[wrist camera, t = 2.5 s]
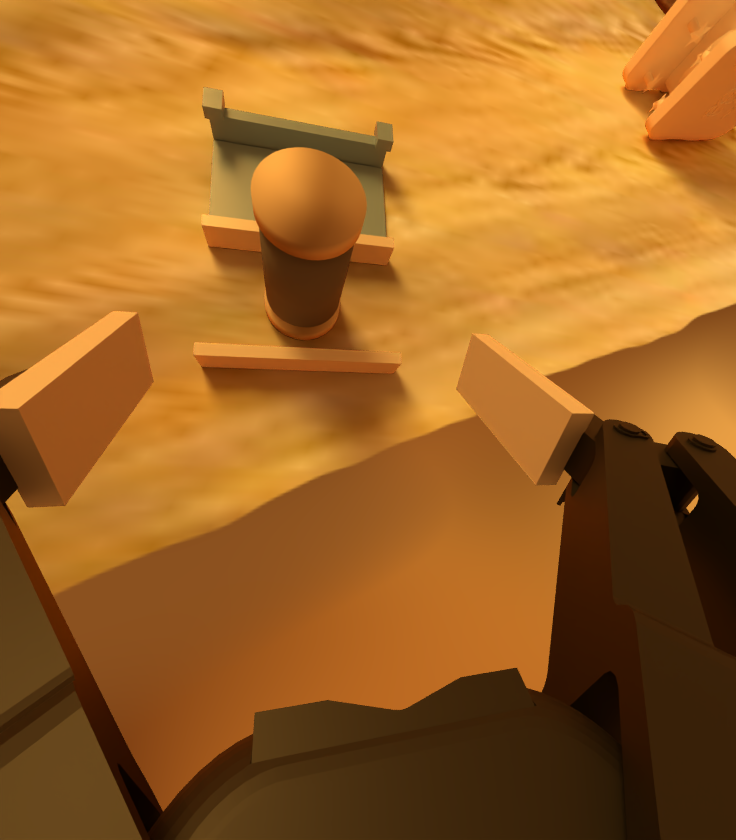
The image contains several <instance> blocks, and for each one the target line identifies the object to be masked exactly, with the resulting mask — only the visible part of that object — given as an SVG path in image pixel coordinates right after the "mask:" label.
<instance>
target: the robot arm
mask: <svg viewBox="0 0 736 840" xmlns="http://www.w3.org/2000/svg"><path fill="white" fill-rule="evenodd" d="M153 382H154V381H153V377H152V372H151V368H150V364H149V359H148V355H147V351H146V346H145V342H144V338H143V333H142V329H141V324H140V320H139V316H138V313H137V312H122V311H113V312H111V313H110V314H108V315H107V316H105V317H104V318H102V319H101V320H100V321H98V322H97V323H95V324H94V325H92V326H91V327H89V328H88V329H86V330H85V331H83V332H82V333H81V334H79V335H78V336H76V337H75V338H73V339H72V340H70V341H69V342H67V343H66V344H64V345H63V346H62V347H60V348H59V349H57V350H56V351H54V352H53V353H51V354H50V355H48V356H47V357H45V358H44V359H43V360H41V361H40V362H38V363H37V364H35V365H34V366H32V367H31V368H29V369H27V370H24V371H21V372H19V373H16V374H13V375H11V376H8V377H6V378H4V379H3V380H1V381H0V840H736V459H735V458H734V457H733V456H732V455H731V454H730V453H729V452H728V451H727V450H726V449H724V448H723V447H722V446H720V445H719V444H717V443H715V442H714V441H713V440H712V439H710V438H708V437H705V436H702V435H699V434H698V435H695V434H692V433H687V432H677V433H676V434H675V435H674V436H673V438H672V439H671V441H670V442H669V443H668V445H666V444H661V443H655V442H654V441H653V439H652V437H651V436H650V435H649V434H648V433H647V432H646V431H644V430H642V429H640V428H638V427H637V426H636V425H633V424H631V423H627V422H622V421H619V420H610V419H609V420H605V421H602V420H601V419H600V418H598V417H597V416H596V415H594V413H593V412H592V411H591V410H589V409H588V408H587V407H585V406H584V405H583V404H581V403H580V402H578V401H577V400H576V399H575V398H573V397H572V396H571V395H569V394H568V393H566V392H565V391H564V390H562V389H561V388H560V387H558V386H557V385H556V384H554V383H553V382H552V381H550V380H549V379H548V378H546V377H545V376H543V375H542V374H541V373H539V372H538V371H537V370H535V369H534V368H533V367H531V366H530V365H529V364H527V363H526V362H525V361H523V360H522V359H520V358H519V357H518V356H516V355H515V354H514V353H512V352H511V351H510V350H508V349H507V348H506V347H504V346H503V345H502V344H500V343H499V342H497V341H496V340H495V339H493V338H492V337H491V336H489V335H488V334H472V336H471V340H470V343H469V347H468V350H467V354H466V357H465V361H464V364H463V368H462V371H461V375H460V378H459V381H458V385H457V388H456V389H457V391H458V392H459V393H460V394H461V395H462V397H463V398H464V399H465V400H466V402H467V403H468V404H469V405H470V406H471V408H472V409H473V410H474V411H475V412H476V414H477V415H478V416H479V417H480V419H482V421H483V422H484V423H485V425H486V426H487V427H488V428H489V429H490V431H491V432H492V433H493V434H494V435H495V437H496V438H497V439H498V440H499V441H500V443H501V444H502V445H503V446H504V447H505V449H506V450H507V451H508V452H509V454H510V455H511V456H512V457H513V458H514V460H515V461H516V462H517V463H518V465H519V466H520V467H521V468H522V469H523V470H524V472H525V473H526V474H527V476H528V477H529V478H530V479H531V480H532V481H533V483H534V484H535V485H556V483H557V482H558V480H559V478H560V476H561V474H562V472H563V471H564V470H565V471H566V472H567V473H568V474H569V475H570V476H571V477H572V478H571V480H570V482H569V483H568V485H567V487H566V489H565V490H564V492H563V494H562V496H561V497H560V499H559V501H558V502H557V504H558V505H561V504H562V502H565V505H564V515H563V525H562V535H561V545H560V555H559V565H558V575H557V585H556V595H555V605H554V615H553V625H552V634H551V645H550V655H549V664H548V673H547V678H546V682H545V685H544V688H543V690H542V693H541V692H538V691H535V690H531V689H528V688H526V686H525V684H524V682H523V680H522V678H521V676H520V674H519V672H518V670H517V668H513V669H507V670H501V671H495V672H489V673H483V674H477V675H472V676H466V677H461V678H459V679H457V680H455V681H453V682H452V683H450V684H448V685H446V686H445V687H443V688H441V689H440V690H438V691H436V692H434V693H433V694H431V695H429V696H427V697H426V698H424V699H422V700H420V701H419V702H417V703H415V704H413V705H412V706H410V707H408V708H406V709H403V710H390V709H383V708H376V707H370V706H363V705H357V704H349V703H342V702H336V701H329V700H326V701H320V702H315V703H308V704H303V705H297V706H292V707H285V708H279V709H274V710H268V711H262V712H256V713H255V718H254V732H253V734H252V735H250V736H248V737H246V738H244V739H242V740H240V741H239V742H237V743H235V744H234V745H232V746H231V747H229V748H228V749H227V750H225V751H224V752H222V753H221V754H219V755H218V756H217V757H216V758H214V759H213V760H212V761H211V762H210V763H209V764H208V765H206V766H205V767H204V768H203V769H201V770H200V771H199V772H198V773H197V774H196V775H195V776H194V777H193V778H192V780H190V781H189V783H188V784H187V785H186V786H185V787H184V788H183V789H182V790H181V791H180V792H179V793H178V794H177V796H176V797H175V798H174V799H173V800H172V802H171V803H170V804H169V806H168V807H167V808H166V809H165V810H164V812H163V811H162V809H161V807H160V805H159V803H158V801H157V799H156V797H155V795H154V793H153V791H152V789H151V788H150V786H149V784H148V782H147V780H146V778H145V777H144V775H143V773H142V772H141V770H140V768H139V766H138V765H137V763H136V761H135V759H134V757H133V756H132V754H131V752H130V750H129V748H128V746H127V744H126V742H125V740H124V738H123V736H122V734H121V732H120V730H119V728H118V726H117V724H116V722H115V720H114V718H113V716H112V714H111V712H110V710H109V708H108V706H107V704H106V702H105V700H104V698H103V696H102V694H101V692H100V690H99V688H98V686H97V683H96V682H95V680H94V678H93V675H92V674H91V671H90V669H89V667H88V666H87V663H86V661H85V659H84V657H83V655H82V653H81V651H80V649H79V647H78V645H77V644H76V641H75V639H74V637H73V635H72V633H71V631H70V629H69V627H68V625H67V624H66V621H65V619H64V617H63V615H62V613H61V611H60V609H59V607H58V605H57V603H56V601H55V599H54V597H53V595H52V593H51V591H50V589H49V587H48V585H47V583H46V581H45V579H44V577H43V575H42V573H41V571H40V569H39V567H38V565H37V563H36V561H35V559H34V557H33V555H32V553H31V551H30V549H29V547H28V545H27V543H26V541H25V539H24V537H23V534H22V532H21V530H20V528H19V526H18V524H17V522H16V520H15V518H14V516H13V514H12V512H11V511H10V509H9V507H8V506H7V504H6V503H5V502H6V501H7V499H8V498H9V497H10V496H11V495H12V494H13V493H14V492H15V491H16V490H18V492H19V493H20V495H21V497H22V499H23V500H24V502H25V504H26V506H27V507H48V506H65V505H66V504H67V502H68V501H69V499H70V498H71V497H72V495H73V494H74V492H75V491H76V490H77V488H78V487H79V485H80V484H81V483H82V481H83V480H84V478H85V477H86V476H87V474H88V473H89V471H90V470H91V469H92V467H93V466H94V464H95V463H96V462H97V460H98V459H99V457H100V456H101V455H102V453H103V452H104V450H105V449H106V448H107V446H108V445H109V444H110V442H111V441H112V439H113V438H114V437H115V435H116V434H117V432H118V431H119V430H120V428H121V427H122V425H123V424H124V423H125V421H126V420H127V418H128V417H129V416H130V414H131V413H132V411H133V410H134V409H135V407H136V406H137V404H138V403H139V402H140V400H141V399H142V397H143V396H144V395H145V393H146V392H147V390H148V389H149V388H150V386H151V385H152V383H153ZM697 495H698V497H699V499H698V503H697V505H696V507H695V508H694V509H693V510H692V511H691V513H689V512H688V510H687V509H686V507H687V506H688V505H689V504H690V503H691V501H692V500H693V499H694V498H695V497H696V496H697Z"/></svg>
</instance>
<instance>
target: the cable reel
mask: <svg viewBox="0 0 736 840" xmlns="http://www.w3.org/2000/svg"><path fill="white" fill-rule="evenodd" d="M251 197H252V205H253V212H254V217H255V220H256V223H257V225H258V227H259V234H260V243H261V252H262V261H263V270H264V279H265V287H266V288H265V293H264V301H265V308H266V313H267V316H268V318H269V320H270V322H271V323H272V324H273V326H274V327H275V328H276V329H277V330H279V331H280V332H281V333H283V334H284V335H286V336H288V337H291V338H294V339H298V340H311V339H316V338H319V337H321V336H323V335H325V334H326V333H327V332H329V331H330V330H331V329H332V327H333V326H334V324H335V323H336V320H337V317H338V314H339V310H340V297H341V293H342V290H343V286H344V282H345V278H346V274H347V270H348V267H349V263H350V259H351V255H352V251H353V247H354V244H355V243H356V241H357V240H358V238H359V236H360V233H361V230H362V227H363V223H364V219H365V216H366V210H367V201H366V195H365V192H364V189H363V187H362V184H361V183H360V181H359V179H358V178H357V176H356V175H355V174H354V173H353V171H352V170H351V169H350V168H349V167H348V166H346V165H345V164H344V163H343V162H341V161H340V160H339V159H337V158H335V157H333V156H332V155H330V154H327V153H325V152H322V151H319V150H316V149H311V148H304V147H294V148H286V149H282V150H279V151H276V152H274V153H272V154H270V155H269V156H267V157H266V158H265V159H263V160H262V161H261V162H260V164H259V165H258V166H257V168H256V169H255V171H254V173H253V177H252V180H251Z"/></svg>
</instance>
